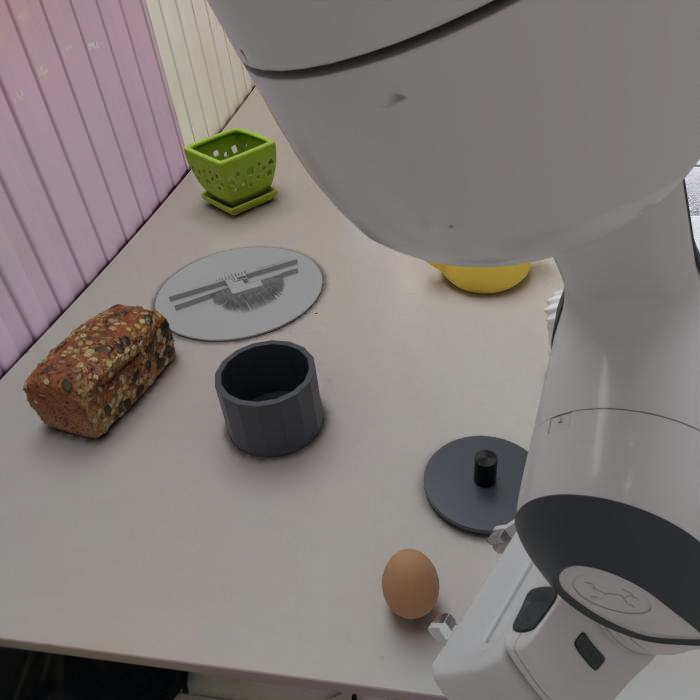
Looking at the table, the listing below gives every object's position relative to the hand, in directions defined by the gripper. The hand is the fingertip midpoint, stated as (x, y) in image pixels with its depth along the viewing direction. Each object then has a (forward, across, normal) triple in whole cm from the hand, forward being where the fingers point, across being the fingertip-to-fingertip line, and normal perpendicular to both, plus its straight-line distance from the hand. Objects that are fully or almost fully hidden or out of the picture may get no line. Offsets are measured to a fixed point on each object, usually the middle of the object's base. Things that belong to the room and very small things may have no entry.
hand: (467, 582), depth 51 cm
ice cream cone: (+11, -37, +3) cm, 39 cm away
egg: (+11, 0, +3) cm, 11 cm away
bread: (+47, -4, -34) cm, 58 cm away
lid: (+11, -16, +1) cm, 20 cm away
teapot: (+27, -57, -14) cm, 64 cm away
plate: (+49, -31, -36) cm, 68 cm away
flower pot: (+66, -56, -53) cm, 102 cm away
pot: (+30, -11, -17) cm, 37 cm away
